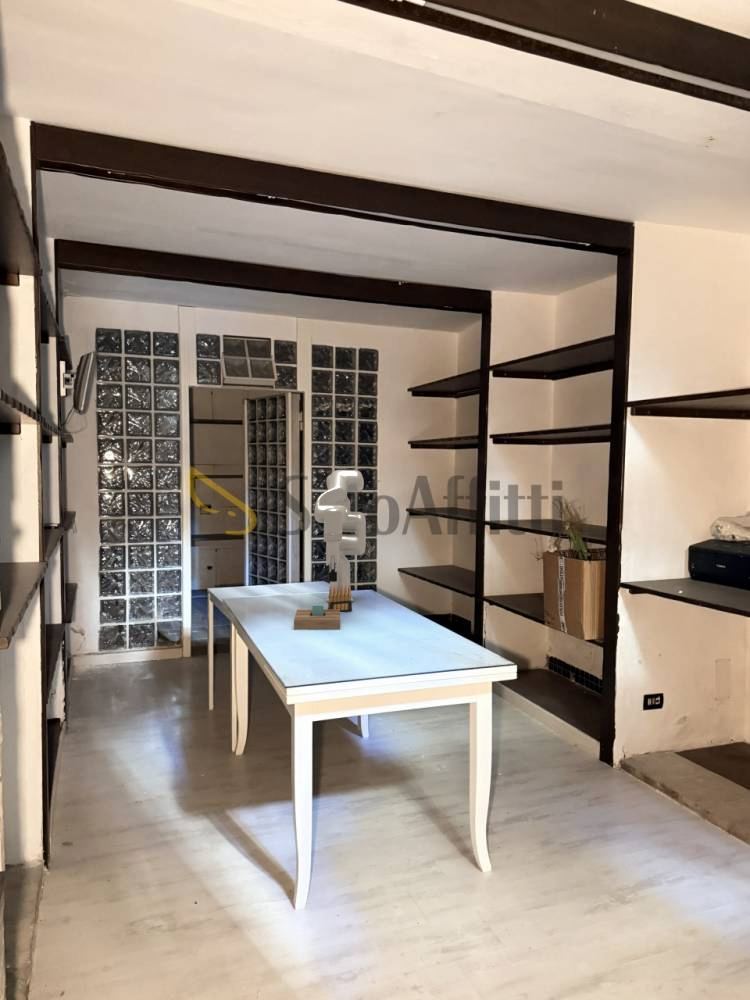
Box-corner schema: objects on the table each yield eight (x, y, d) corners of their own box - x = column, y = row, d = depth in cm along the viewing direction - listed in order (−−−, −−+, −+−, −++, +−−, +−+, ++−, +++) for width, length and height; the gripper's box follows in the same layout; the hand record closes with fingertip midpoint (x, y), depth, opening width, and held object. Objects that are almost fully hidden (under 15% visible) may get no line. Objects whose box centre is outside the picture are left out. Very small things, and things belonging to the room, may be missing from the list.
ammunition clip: (350, 610, 298) (350, 584, 297) (352, 611, 296) (352, 584, 296) (327, 613, 294) (327, 585, 293) (329, 613, 292) (329, 586, 291)
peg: (312, 622, 276) (312, 603, 275) (323, 622, 276) (323, 603, 276) (312, 625, 271) (312, 605, 271) (323, 625, 272) (323, 605, 271)
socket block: (296, 618, 282) (296, 609, 282) (340, 618, 283) (340, 609, 283) (294, 629, 264) (294, 619, 264) (339, 629, 265) (340, 619, 265)
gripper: (324, 534, 285) (324, 577, 287) (323, 540, 271) (323, 585, 272) (342, 534, 286) (342, 577, 288) (341, 540, 271) (341, 585, 273)
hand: (333, 581), depth 280 cm, fingers closed
